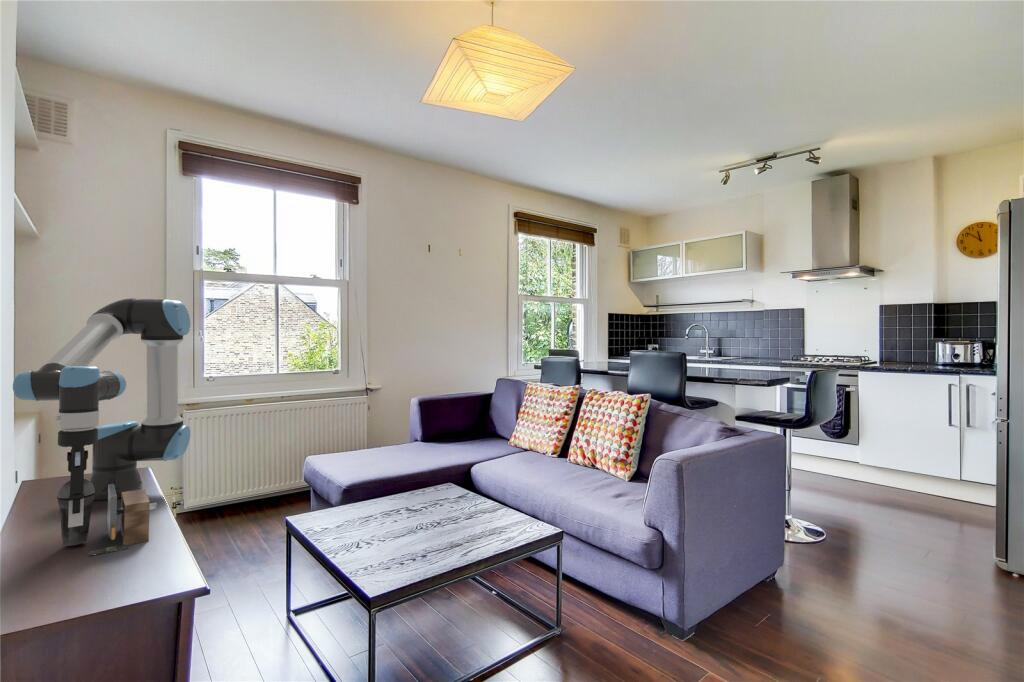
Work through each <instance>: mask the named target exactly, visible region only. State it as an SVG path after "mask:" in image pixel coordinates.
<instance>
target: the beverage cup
mask: <svg viewBox="0 0 1024 682" xmlns="http://www.w3.org/2000/svg"><path fill="white" fill-rule="evenodd" d="M75 494H78V493H75ZM83 494H84V497H83V498H84V509H83V525H81V526H75V527H69V528H68V517H69V501H66V498H69V496H70V480H68V481H66V482H65V483H64V484H63V485H62V486H61V487H60V489H59V491H58V495H57V497H56V499H57V504H58V507H59V515H60V516H59V517H60V519H59V520H60V529H61V539H62V546H67V547H69V546H76V545H80V544H84V543H85V542H87V540H88V535H89V529H90V525H91V524H90V523H91V515H92V510H93V509H92V507H93V502H94V501H95V500H94V497H95V494H96V493H95V489H94V486H93V484H92V483H91V482H90V481H89V479H86V478H84V488H83Z"/></svg>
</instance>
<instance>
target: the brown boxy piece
mask: <svg viewBox="0 0 1024 682" xmlns="http://www.w3.org/2000/svg"><path fill="white" fill-rule="evenodd" d="M120 501H121V502H120V503H121V504H120V508H123V514H120V534H121V537H122V544H121V545H114V546H110V547H109V546H108V547H106V548H101V549H96V550H95V549H94V550H91V551H88V557H91V556H90V555H94V554H99V555H101V554H100V553H104V554H107V553H106V552H109V553H112V552H111V551H114V552H119V551H118V550H120V551H124V550H123V549H125V550H128V546H130V545H134V544H135V543H136V544H140V542H141V543H144V541H146V542H149V539H150V534H149V533H150V510H149V509H150V499H149V497H148V495H147V492H146V490H145V488H142V489H141V490H134V491H126V492H122V495H121V498H120ZM94 556H95V555H94Z"/></svg>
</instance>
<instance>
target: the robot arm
mask: <svg viewBox="0 0 1024 682" xmlns="http://www.w3.org/2000/svg"><path fill="white" fill-rule="evenodd" d="M190 316H191V315H190V313H189V310H188V308H187V307H186V305H185V304H184V303H183V302H181V301H180V300H177V299H176V300H173V299H166V298H165V299H158V298H156V299H155V298H154V299H153V298H133V297H131V298H124V299H120V300H116V301H114V302H111V303H109V304H107V305H105V306H103V307H101V308H99V309H98V310H97V311H95V312H94V313H92V314H91V315H90V316H89V317H88V319H87V320H86V325H85V326H84V327H83V328H82V329H81V330H80V331H79V332H78V333H77V334H76V335H74V336H73V337H72V338H71V339H70V340H69V341H68V342H66V344H65V345H64V346H62V347H61V349H60V350H59V351H57V352H56V353H55V354H54V355H53V356H52V357H51V358H50V359H49V360H48V361H47V362H46V363H44V364H43V366H41V367H40V368H39V369H38V370H29V371H22V372H19V373H18V374H17V375H16V376H15V377H14V380H13V382H12V390H13V393H14V396H16V397H17V399H19V400H22V401H36V402H40V401H44V402H45V401H58V402H59V403H58V406H59V407H58V416H55V417H54V418H55V419H54V420H55V421H58V425H57V426H58V427H57V428H59V431H58V432H57V445H58V446H59V447H62V448H68V447H70V448H71V449H70V451H68V452H67V453H66V461H67V464H68V465H67V471H68V473H70V478H69V481H70V496H69V498H66V501H69V517H68V528H69V527H75V526H81V525H83V509H84V498H83V497H84V494H83V488H84V479H85V471H86V470H87V467H88V465H87V460H88V459H89V450H87V449H86V450H85V448H84V447H85V446H92V458H91V460H92V462H91V474H90V477H89V479H88V481H90V482H91V483H92V484H93V486H94V489H95V493H96V494H95V497H94V501H101V500H102V501H104V500H105V501H106V500H108V485H109V484H114V485H115V490H116V494H117V499H121V498H120V497H121V495H122V492H126V491H134V490H141V489H144V488H143V487H144V486H143V481H142V479H141V476H140V472H139V469H138V466H137V465H138V462H153V461H154V462H156V461H162V462H167V461H174V460H175V461H176V460H180V458H182V457H183V456H184V455H185V453H186V451H187V449H188V447H189V443H190V440H191V439H190V438H191V429H190V426H189V425H187V424H184V418H183V417H181V416H180V415H179V403H178V402H179V370H178V369H179V368H178V367H179V359H178V358H179V352H178V351H179V350H178V349H179V348H178V347H179V344H180V343H182V342H183V341H184V336H187V335H188V334H189V333H190V330H191V329H190V328H191V317H190ZM133 334H134V335H140V341H141V342H142V343H144V345H146V417H145V418H144V419H143V420H142V421H141V424H140V425H139V422H138V421H137V420H136V421H135V420H132V421H131V420H130V421H122V422H116V423H110V424H104V425H102V426H99V420H100V419H99V418H100V417H99V413H100V412H99V411H100V410H99V403H100V401H106V400H112V399H114V398H118V397H119V396H121V395H122V394H124V392H125V391H126V388H127V381H126V378H125V376H123V374H121V373H120V372H117V371H111V370H108V371H107V370H103V371H100V369H99V367H98V366H95V365H91V366H90V364H91V363H92V362H93V361H94V359H95V358H96V357H97V356H98V355H99V354H100V353H101V352H102V351H103V350H104V349H105V348H106V347H107V346H108V345H109V344H110V343H111V342H112V341H115V340H117V339H120V338H121V337H122V336H123V335H133ZM75 493H78V494H75Z"/></svg>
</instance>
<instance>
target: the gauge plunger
mask: <svg viewBox="0 0 1024 682" xmlns="http://www.w3.org/2000/svg"><path fill="white" fill-rule="evenodd" d="M157 508H158V503H157V502H152V503H150V509H149V511H151V510H156V509H157ZM121 514H123V508H121V507H119V508H118V498H117V494H116V490H115V485H114V484H109V485H108V499H107V519H106V520H107V523H106V524H107V529H108V535H109V537H108V538H109V539H111V540H112V541H113V540H115V539H116V537H117V516H121Z"/></svg>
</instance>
